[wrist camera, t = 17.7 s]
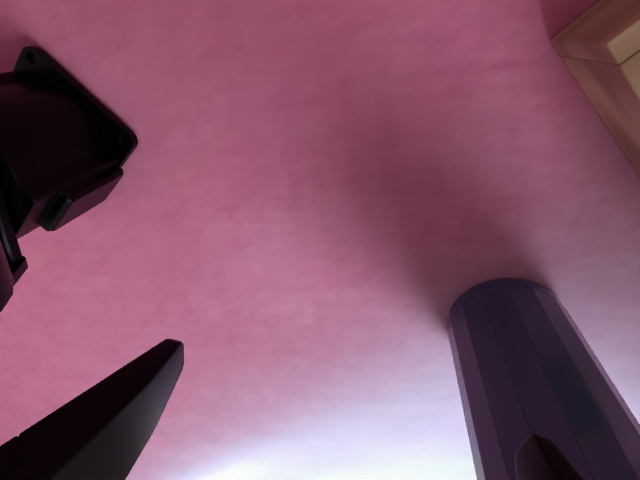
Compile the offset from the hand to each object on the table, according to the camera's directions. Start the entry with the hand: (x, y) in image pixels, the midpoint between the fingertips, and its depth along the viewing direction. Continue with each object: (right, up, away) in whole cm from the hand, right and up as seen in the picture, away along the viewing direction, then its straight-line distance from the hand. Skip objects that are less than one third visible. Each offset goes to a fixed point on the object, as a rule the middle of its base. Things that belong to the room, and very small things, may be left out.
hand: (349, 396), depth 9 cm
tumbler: (+10, -1, +13) cm, 16 cm away
